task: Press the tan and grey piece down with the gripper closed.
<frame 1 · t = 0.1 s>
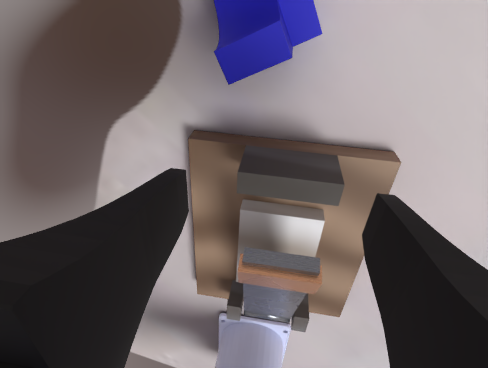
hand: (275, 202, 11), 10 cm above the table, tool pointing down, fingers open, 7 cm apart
clamp board: (277, 230, 25), on the table
tan and grey piece: (271, 294, 21), point 6 cm above the table, hinge at 22.0°
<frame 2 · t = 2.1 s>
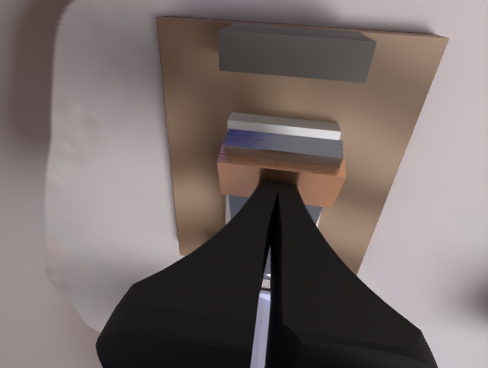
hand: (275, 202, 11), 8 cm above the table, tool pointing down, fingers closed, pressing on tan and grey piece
clamp board: (277, 165, 20), on the table
tan and grey piece: (270, 232, 16), point 6 cm above the table, hinge at 21.8°, touching gripper
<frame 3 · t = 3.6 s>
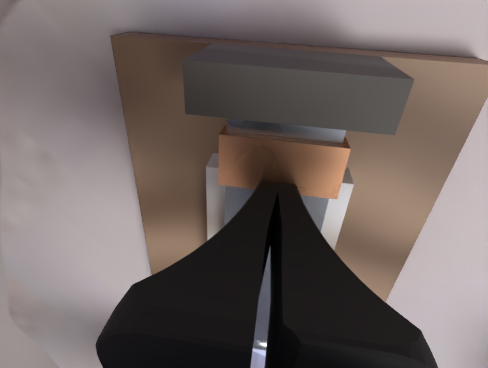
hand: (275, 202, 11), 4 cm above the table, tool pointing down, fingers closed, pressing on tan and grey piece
clamp board: (272, 211, 16), on the table
tan and grey piece: (266, 261, 14), point 3 cm above the table, hinge at -1.4°, touching gripper
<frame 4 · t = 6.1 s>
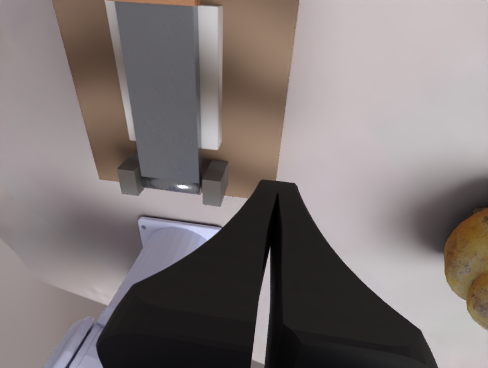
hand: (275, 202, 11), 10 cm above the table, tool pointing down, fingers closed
clamp board: (182, 72, 19), on the table
tan and grey piece: (163, 91, 17), point 3 cm above the table, hinge at -1.4°
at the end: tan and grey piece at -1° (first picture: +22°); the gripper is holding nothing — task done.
